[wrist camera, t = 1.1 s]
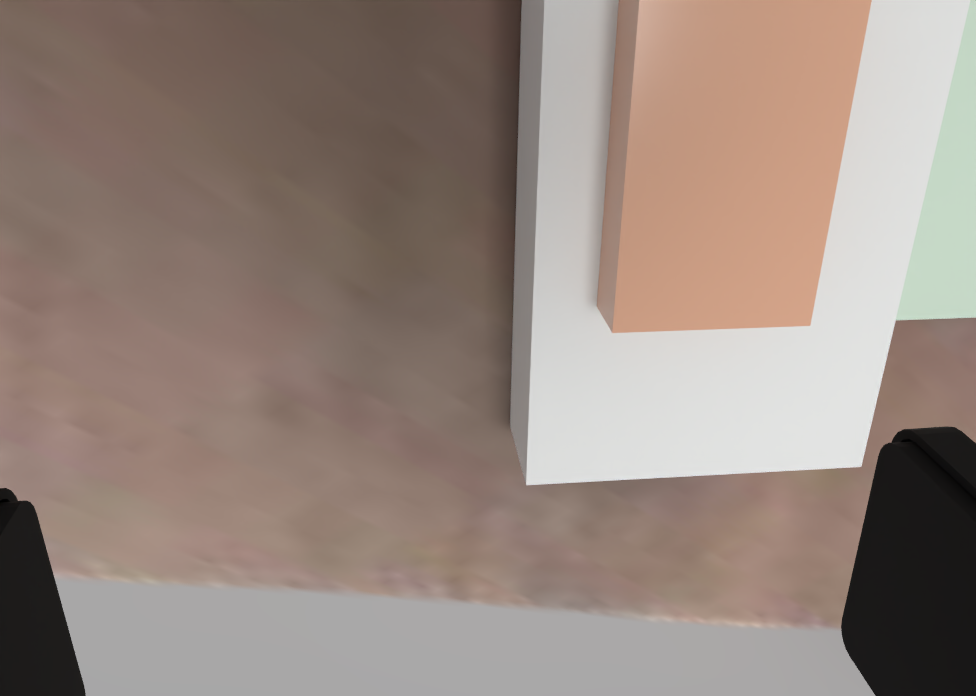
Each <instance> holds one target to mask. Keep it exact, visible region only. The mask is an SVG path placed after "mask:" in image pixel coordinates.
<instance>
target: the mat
mask: <svg viewBox="0 0 976 696" xmlns="http://www.w3.org/2000/svg"><path fill="white" fill-rule="evenodd" d="M972 317H976V0H970V5H969V9H968V13H967V17H966V22H965V26H964V30H963V34H962V39H961V43H960V47H959V51H958V56H957V60H956V64H955V69H954V73H953V77H952V81H951V86H950V90H949V94H948V98H947V103H946V107H945V111H944V116H943V120H942V124H941V128H940V133H939V137H938V141H937V145H936V150H935V154H934V158H933V162H932V167H931V171H930V175H929V180H928V184H927V188H926V192H925V197H924V201H923V205H922V209H921V214H920V218H919V222H918V227H917V231H916V235H915V239H914V244H913V248H912V252H911V256H910V261H909V265H908V269H907V273H906V278H905V282H904V286H903V291H902V295H901V299H900V303H899V308H898V312H897V316H896V320H916V319H944V318H972Z"/></svg>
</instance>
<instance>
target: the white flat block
mask: <svg viewBox="0 0 976 696" xmlns="http://www.w3.org/2000/svg"><path fill="white" fill-rule="evenodd" d="M618 3H619V0H522V8H521V44H520V81H519V117H518V153H517V190H516V226H515V263H514V299H513V335H512V372H511V408H510V427H511V431H512V434H513V438H514V442H515V446H516V449H517V453H518V457H519V461H520V464H521V468H522V472H523V476H524V479H525V483H526V485H538V484H556V483H574V482H593V481H611V480H629V479H647V478H666V477H684V476H702V475H720V474H739V473H757V472H775V471H794V470H812V469H830V468H848V467H861V466H862V461H863V457H864V453H865V448H866V444H867V440H868V436H869V431H870V427H871V423H872V419H873V414H874V410H875V406H876V402H877V397H878V393H879V389H880V384H881V380H882V376H883V372H884V367H885V363H886V359H887V355H888V350H889V346H890V342H891V338H892V333H893V329H894V325H895V320H896V316H897V312H898V308H899V303H900V299H901V295H902V291H903V286H904V282H905V278H906V273H907V269H908V265H909V261H910V256H911V252H912V248H913V244H914V239H915V235H916V231H917V227H918V222H919V218H920V214H921V209H922V205H923V201H924V197H925V192H926V188H927V184H928V180H929V175H930V171H931V167H932V162H933V158H934V154H935V150H936V145H937V141H938V137H939V133H940V128H941V124H942V120H943V116H944V111H945V107H946V103H947V98H948V94H949V90H950V86H951V81H952V77H953V73H954V69H955V64H956V60H957V56H958V51H959V47H960V43H961V39H962V34H963V30H964V26H965V22H966V17H967V13H968V9H969V5H970V0H872V2H871V7H870V12H869V17H868V23H867V28H866V33H865V39H864V44H863V49H862V55H861V60H860V65H859V70H858V76H857V81H856V86H855V92H854V97H853V102H852V108H851V113H850V118H849V123H848V129H847V134H846V139H845V145H844V150H843V155H842V161H841V166H840V171H839V176H838V182H837V187H836V192H835V198H834V203H833V208H832V213H831V219H830V224H829V229H828V235H827V240H826V245H825V251H824V256H823V261H822V266H821V272H820V277H819V282H818V288H817V293H816V298H815V304H814V309H813V314H812V319H811V325H810V326H794V327H767V328H739V329H711V330H683V331H656V332H628V333H612V332H611V330H610V328H609V327H608V325H607V323H606V322H605V320H604V318H603V316H602V315H601V313H600V311H599V310H598V308H597V294H598V280H599V266H600V252H601V239H602V225H603V211H604V197H605V183H606V169H607V155H608V142H609V128H610V114H611V100H612V86H613V72H614V58H615V45H616V31H617V17H618Z"/></svg>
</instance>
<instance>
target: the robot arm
mask: <svg viewBox="0 0 976 696" xmlns="http://www.w3.org/2000/svg"><path fill="white" fill-rule="evenodd" d="M841 628H842V637H843V642H844V644H845V647H846V650H847V652H848V654H849V656H850V657H851V659H852V660H853V662H854V663H855V665H856V666H857V668H858V670H859V671H860V672H861V674H862V676H863V677H864V679H865V680H866V682H867V683H868V685H869V686H870V688H871V689H872V691H873V692H874V694H875V695H876V696H976V443H975V442H974V441H972V440H971V439H970V438H969V437H968V436H966V435H965V434H964V433H963V432H962V431H960V430H958V429H957V428H955V427H933V428H918V429H904V430H902V431H900V432H898V433H897V434H896V435H895V437H894V438H893V440H892V443H888V444H885V445H884V446H883V447H882V449H881V450H880V453H879V456H878V461H877V465H876V470H875V474H874V479H873V483H872V488H871V492H870V496H869V501H868V505H867V510H866V514H865V519H864V523H863V528H862V532H861V537H860V541H859V546H858V550H857V555H856V559H855V564H854V568H853V573H852V577H851V582H850V586H849V591H848V595H847V600H846V604H845V609H844V613H843V618H842V625H841ZM0 696H85V689H84V684H83V681H82V677H81V674H80V670H79V666H78V662H77V659H76V656H75V651H74V648H73V644H72V641H71V637H70V633H69V630H68V626H67V622H66V619H65V615H64V612H63V608H62V604H61V601H60V597H59V593H58V590H57V586H56V583H55V579H54V575H53V572H52V568H51V564H50V561H49V557H48V553H47V550H46V546H45V543H44V539H43V535H42V532H41V528H40V524H39V521H38V517H37V513H36V511H35V508H34V506H33V505H32V504H31V502H28V501H18V500H17V498H16V496H15V495H14V493H13V492H12V491H11V490H9V489H7V488H0Z"/></svg>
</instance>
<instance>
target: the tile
mask: <svg viewBox="0 0 976 696" xmlns="http://www.w3.org/2000/svg"><path fill="white" fill-rule="evenodd" d="M871 2H872V0H619V3H618V17H617V31H616V45H615V58H614V72H613V86H612V100H611V114H610V128H609V142H608V155H607V169H606V183H605V197H604V211H603V225H602V239H601V252H600V266H599V280H598V294H597V308H598V310H599V311H600V313H601V315H602V316H603V318H604V320H605V322H606V323H607V325H608V327H609V328H610V330H611V332H612V333H628V332H656V331H683V330H711V329H739V328H767V327H794V326H810V325H811V319H812V314H813V309H814V304H815V298H816V293H817V288H818V282H819V277H820V272H821V266H822V261H823V256H824V251H825V245H826V240H827V235H828V229H829V224H830V219H831V213H832V208H833V203H834V198H835V192H836V187H837V182H838V176H839V171H840V166H841V161H842V155H843V150H844V145H845V139H846V134H847V129H848V123H849V118H850V113H851V108H852V102H853V97H854V92H855V86H856V81H857V76H858V70H859V65H860V60H861V55H862V49H863V44H864V39H865V33H866V28H867V23H868V17H869V12H870V7H871Z"/></svg>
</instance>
